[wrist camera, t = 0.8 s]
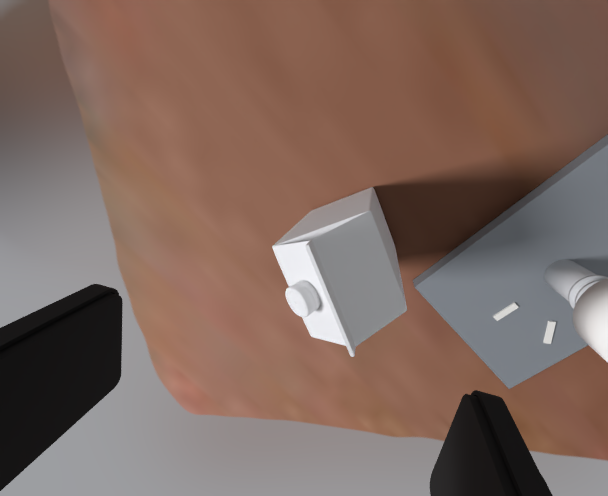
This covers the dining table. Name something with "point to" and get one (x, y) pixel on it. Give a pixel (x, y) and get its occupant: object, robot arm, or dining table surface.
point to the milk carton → (343, 270)
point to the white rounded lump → (593, 317)
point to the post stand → (528, 272)
